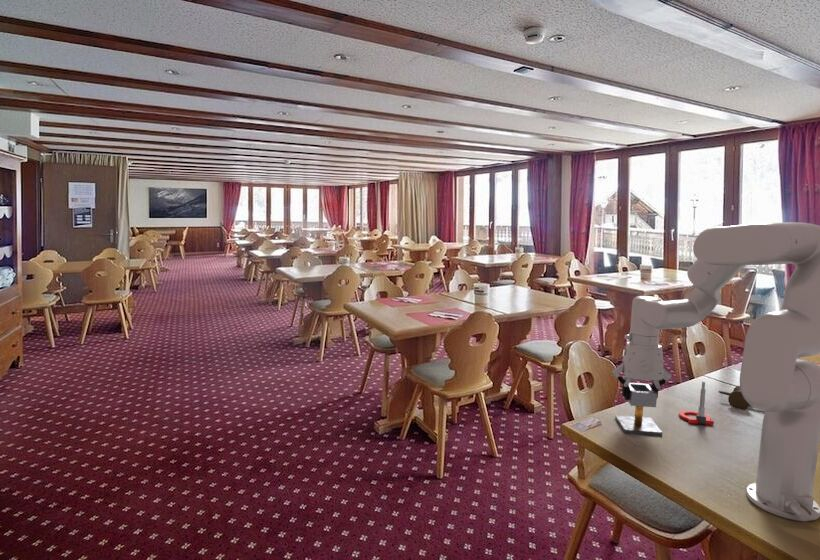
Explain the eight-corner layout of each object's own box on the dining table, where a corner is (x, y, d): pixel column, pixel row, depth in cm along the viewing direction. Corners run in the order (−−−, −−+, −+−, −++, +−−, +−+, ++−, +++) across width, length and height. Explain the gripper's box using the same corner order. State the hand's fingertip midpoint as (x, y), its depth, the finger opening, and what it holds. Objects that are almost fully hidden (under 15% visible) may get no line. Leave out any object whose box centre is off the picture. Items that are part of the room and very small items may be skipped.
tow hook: (674, 413, 151) (686, 424, 142) (676, 373, 150) (689, 381, 141) (703, 415, 150) (717, 426, 141) (705, 374, 149) (720, 383, 140)
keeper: (662, 435, 134) (664, 411, 134) (624, 433, 136) (626, 409, 135) (650, 420, 144) (652, 398, 143) (615, 418, 146) (616, 396, 145)
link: (655, 407, 135) (657, 393, 134) (631, 405, 136) (632, 392, 135) (646, 396, 143) (647, 383, 142) (623, 395, 144) (624, 382, 143)
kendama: (791, 423, 145) (714, 404, 158) (793, 414, 152) (719, 396, 165) (794, 404, 144) (716, 386, 157) (796, 395, 151) (721, 379, 164)
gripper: (615, 341, 134) (611, 402, 137) (682, 344, 132) (676, 406, 134) (608, 334, 142) (604, 392, 144) (671, 337, 139) (666, 396, 142)
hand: (639, 398), depth 139 cm, fingers closed on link, 6 cm apart
